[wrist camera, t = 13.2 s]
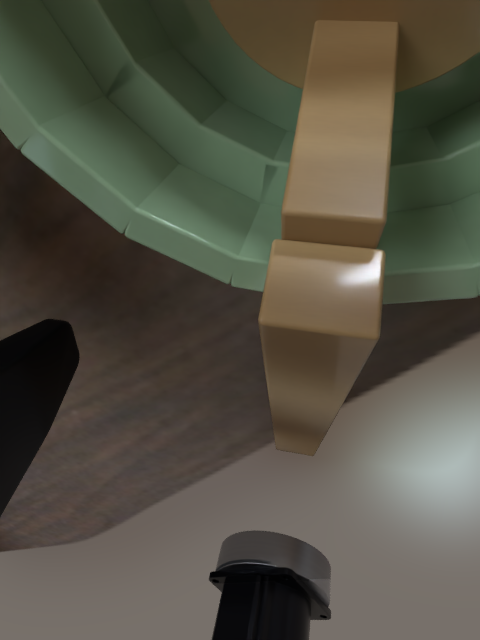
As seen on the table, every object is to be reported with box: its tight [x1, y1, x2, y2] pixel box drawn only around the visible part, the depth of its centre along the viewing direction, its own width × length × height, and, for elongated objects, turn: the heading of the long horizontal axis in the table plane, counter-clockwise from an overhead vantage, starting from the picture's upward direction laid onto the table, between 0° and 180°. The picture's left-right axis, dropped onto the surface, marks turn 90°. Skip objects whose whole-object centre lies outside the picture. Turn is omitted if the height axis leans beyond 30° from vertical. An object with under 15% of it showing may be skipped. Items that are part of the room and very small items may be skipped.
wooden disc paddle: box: [209, 0, 480, 456], centre depth 10 cm, size 16×5×7 cm, turn 179°
